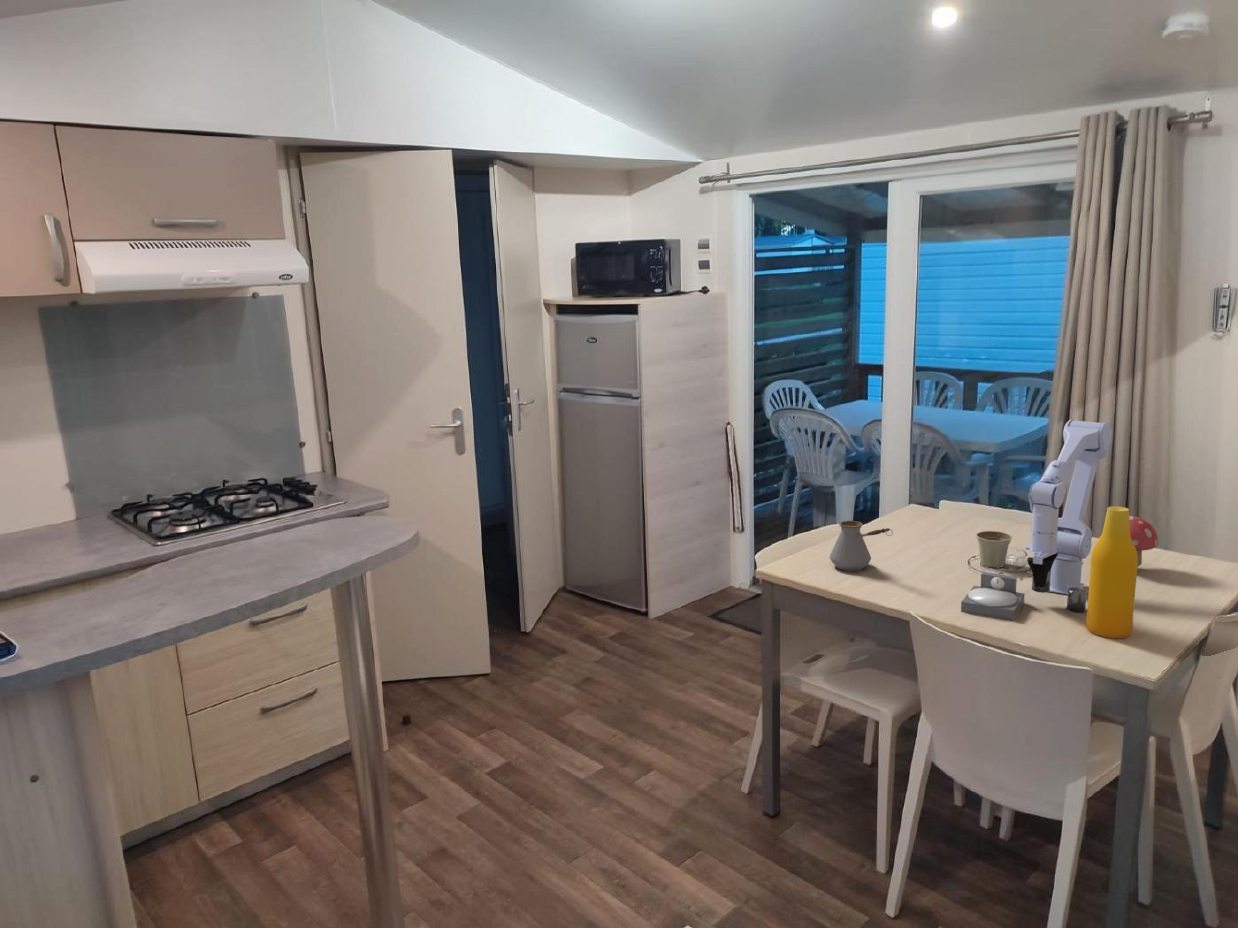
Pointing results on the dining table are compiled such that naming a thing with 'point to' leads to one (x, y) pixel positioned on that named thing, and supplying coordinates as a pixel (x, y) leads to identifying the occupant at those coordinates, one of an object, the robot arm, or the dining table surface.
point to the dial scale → (994, 597)
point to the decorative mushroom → (1142, 536)
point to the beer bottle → (1113, 578)
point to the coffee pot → (852, 547)
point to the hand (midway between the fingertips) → (1041, 583)
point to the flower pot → (993, 547)
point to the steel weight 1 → (1046, 587)
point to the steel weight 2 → (1076, 600)
